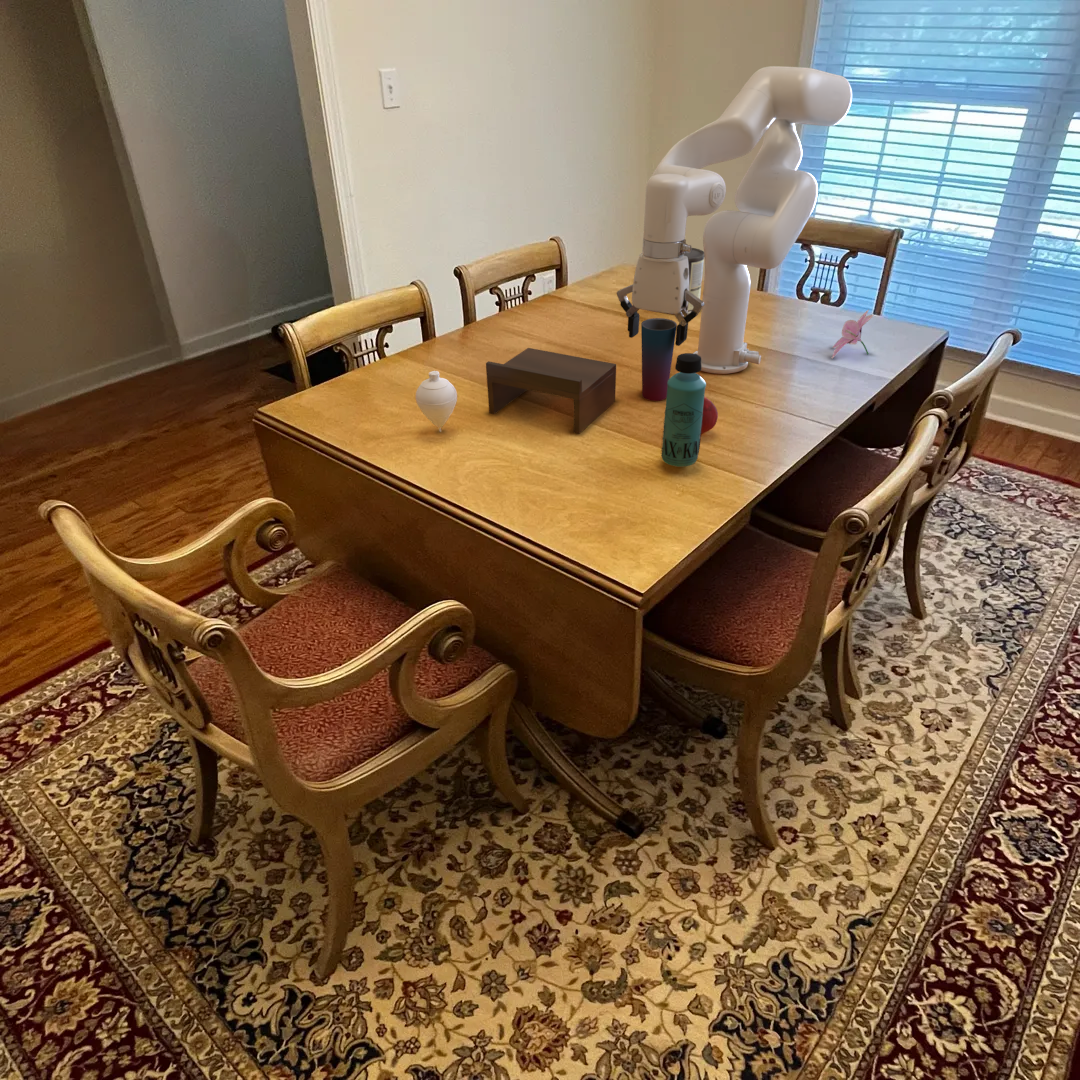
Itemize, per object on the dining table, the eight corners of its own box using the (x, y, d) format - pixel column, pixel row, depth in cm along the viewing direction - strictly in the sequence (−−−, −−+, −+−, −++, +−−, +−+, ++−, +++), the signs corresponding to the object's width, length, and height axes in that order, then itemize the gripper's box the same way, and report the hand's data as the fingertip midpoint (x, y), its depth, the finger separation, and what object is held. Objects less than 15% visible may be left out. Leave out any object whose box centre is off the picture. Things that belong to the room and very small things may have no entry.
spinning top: (443, 444, 147) (437, 383, 140) (411, 435, 150) (403, 375, 143) (468, 428, 152) (463, 369, 145) (436, 419, 155) (430, 361, 148)
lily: (845, 344, 185) (831, 309, 180) (896, 335, 176) (883, 298, 172) (827, 376, 180) (812, 341, 175) (878, 368, 171) (864, 331, 166)
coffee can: (668, 316, 201) (672, 259, 193) (654, 304, 209) (657, 249, 201) (706, 312, 203) (711, 255, 195) (690, 300, 211) (695, 245, 203)
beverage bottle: (656, 458, 140) (663, 349, 129) (693, 455, 141) (703, 347, 129) (664, 476, 135) (672, 365, 124) (702, 474, 135) (714, 362, 124)
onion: (717, 429, 149) (722, 389, 144) (712, 443, 145) (717, 402, 140) (686, 425, 151) (690, 386, 146) (681, 438, 146) (684, 398, 142)
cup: (670, 403, 159) (675, 330, 150) (636, 401, 160) (639, 329, 151) (672, 390, 164) (677, 318, 156) (639, 388, 165) (643, 317, 157)
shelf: (529, 383, 168) (527, 335, 162) (615, 401, 160) (616, 351, 154) (489, 413, 157) (485, 362, 151) (579, 434, 149) (579, 381, 143)
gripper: (715, 249, 144) (705, 340, 154) (628, 239, 152) (623, 327, 161) (701, 259, 139) (691, 353, 149) (611, 247, 146) (607, 338, 156)
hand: (656, 339), depth 155 cm, fingers open, 9 cm apart
